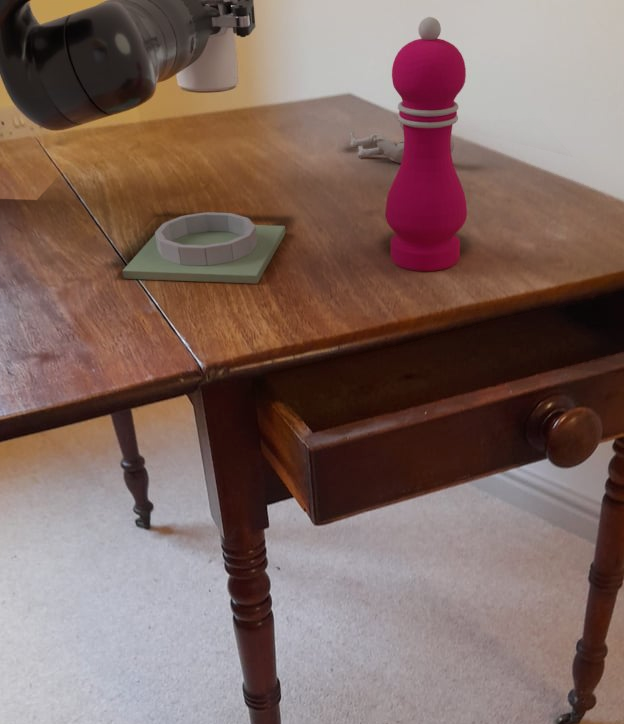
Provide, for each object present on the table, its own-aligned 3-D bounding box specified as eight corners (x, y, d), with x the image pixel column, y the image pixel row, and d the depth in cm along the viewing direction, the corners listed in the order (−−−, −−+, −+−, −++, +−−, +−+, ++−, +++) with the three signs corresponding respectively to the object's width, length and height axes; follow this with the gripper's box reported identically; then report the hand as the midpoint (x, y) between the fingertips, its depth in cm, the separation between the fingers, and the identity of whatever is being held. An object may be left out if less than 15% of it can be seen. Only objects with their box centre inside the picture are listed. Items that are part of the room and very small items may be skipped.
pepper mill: (392, 241, 83) (392, 9, 72) (468, 245, 82) (479, 10, 71) (379, 271, 77) (376, 23, 66) (460, 276, 76) (471, 25, 65)
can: (173, 93, 90) (156, -39, 83) (182, 80, 95) (168, -45, 89) (235, 93, 90) (224, -39, 84) (242, 80, 96) (231, -45, 89)
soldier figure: (369, 157, 109) (460, 131, 105) (371, 192, 108) (464, 167, 103) (342, 123, 102) (439, 94, 98) (344, 160, 101) (442, 132, 96)
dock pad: (123, 279, 76) (118, 252, 75) (166, 229, 86) (162, 204, 85) (257, 284, 75) (254, 256, 74) (285, 233, 85) (283, 208, 84)
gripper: (228, -15, 74) (271, -35, 88) (66, -16, 75) (133, -36, 89) (237, 79, 78) (276, 45, 92) (83, 76, 80) (145, 44, 93)
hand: (205, 5), depth 90 cm, fingers closed on can, 6 cm apart
